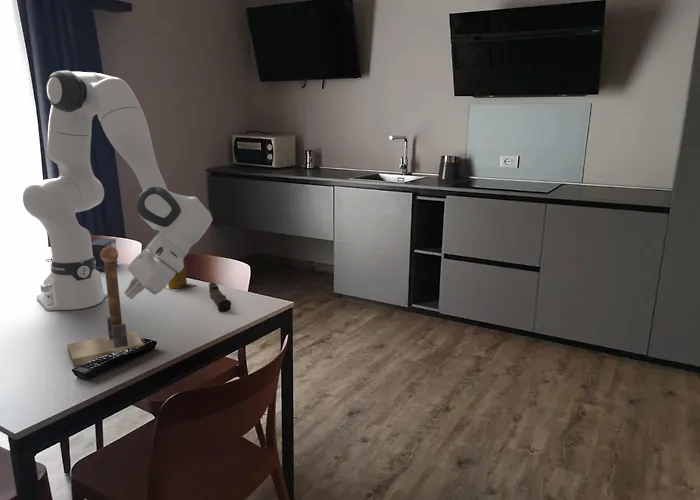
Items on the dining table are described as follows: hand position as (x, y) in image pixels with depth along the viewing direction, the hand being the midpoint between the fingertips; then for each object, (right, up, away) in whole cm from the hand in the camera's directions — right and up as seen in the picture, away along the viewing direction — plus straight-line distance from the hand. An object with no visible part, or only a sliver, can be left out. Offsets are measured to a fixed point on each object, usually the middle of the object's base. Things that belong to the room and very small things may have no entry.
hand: (127, 296), depth 138 cm
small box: (-38, +4, +73) cm, 82 cm away
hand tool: (+14, -5, +35) cm, 38 cm away
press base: (-5, -14, 0) cm, 15 cm away
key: (-62, +6, +80) cm, 101 cm away
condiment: (-3, -1, +51) cm, 51 cm away
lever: (-3, -11, +1) cm, 11 cm away
